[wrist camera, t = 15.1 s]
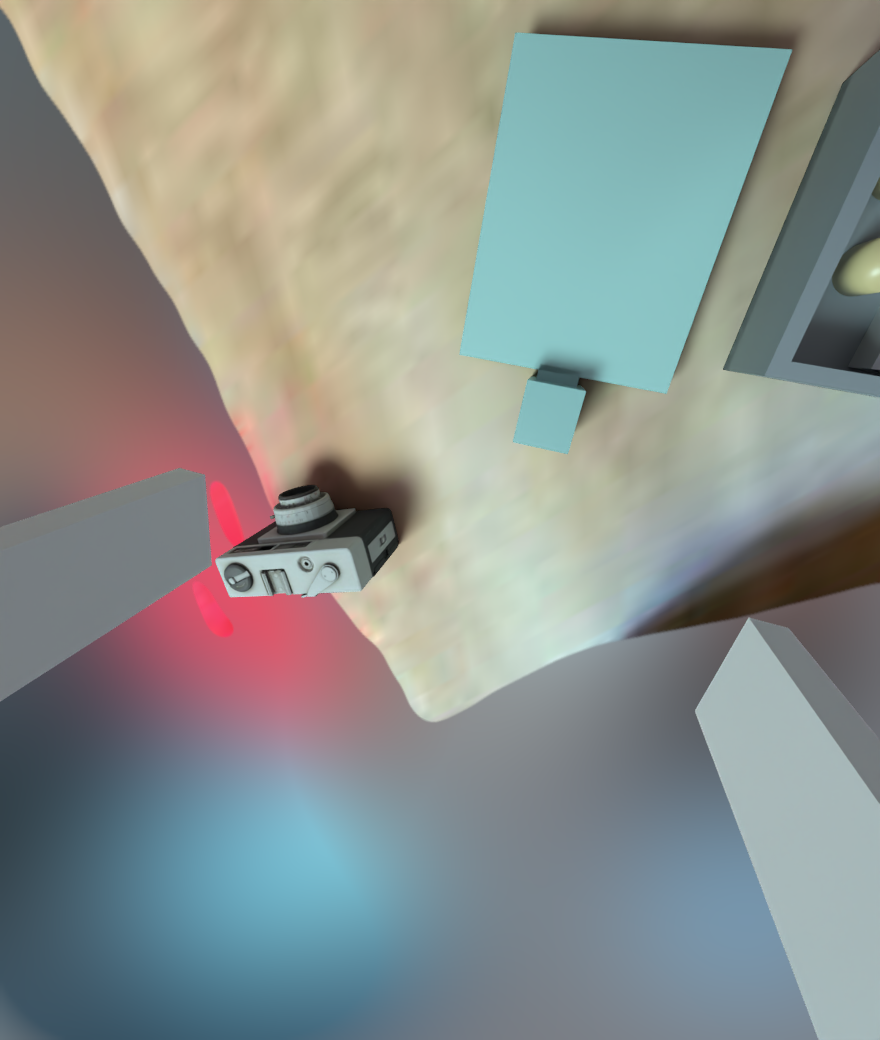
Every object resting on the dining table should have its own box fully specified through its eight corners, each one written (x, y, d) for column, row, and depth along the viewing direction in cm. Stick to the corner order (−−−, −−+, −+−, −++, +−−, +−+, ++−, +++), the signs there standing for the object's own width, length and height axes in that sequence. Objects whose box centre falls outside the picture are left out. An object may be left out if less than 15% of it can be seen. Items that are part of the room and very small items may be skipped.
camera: (383, 470, 41) (335, 505, 32) (401, 546, 44) (361, 598, 35) (264, 486, 46) (192, 521, 37) (287, 555, 48) (226, 603, 39)
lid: (519, 65, 28) (511, -4, 23) (765, 83, 26) (822, 11, 20) (456, 415, 37) (439, 426, 32) (633, 453, 35) (648, 471, 30)
